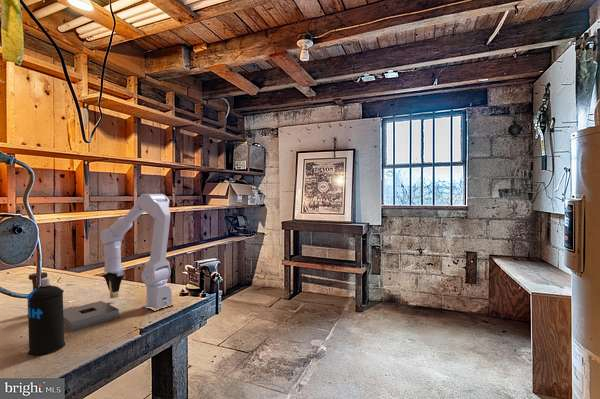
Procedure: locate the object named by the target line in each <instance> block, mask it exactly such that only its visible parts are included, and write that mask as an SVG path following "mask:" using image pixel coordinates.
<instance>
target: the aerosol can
mask: <svg viewBox="0 0 600 399" xmlns="http://www.w3.org/2000/svg"><path fill="white" fill-rule="evenodd" d="M50 281H51V280H50V278H49V277H46V278H44V279H41V287H39V288H37V289H35V290H33V289H32V291H31V292H30V293H29V294H28V295H27V296H26V299H27V320H28V321H27V322H28V323H27V326H28V352H27V355H29V356H30V357H42V356H46V355H49V354H52V353H55V352H57V351H60V350H62V349H63V348H64V347H65V345H66V342H65V326H64V317H63V310H64V294H63V293H64V289H62V288H61V287H59V286H56V285H51V283H50Z"/></svg>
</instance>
